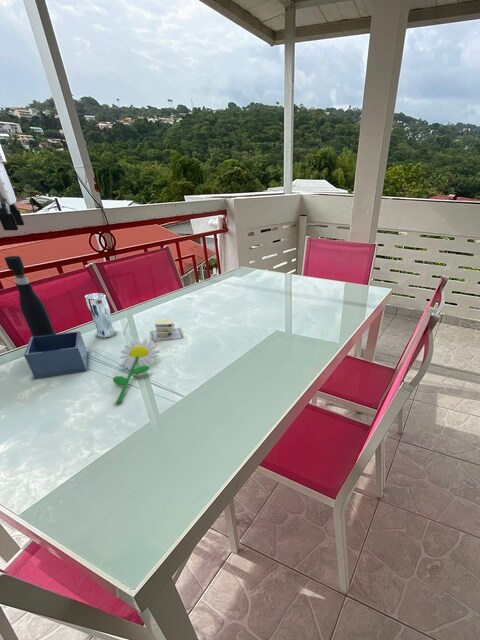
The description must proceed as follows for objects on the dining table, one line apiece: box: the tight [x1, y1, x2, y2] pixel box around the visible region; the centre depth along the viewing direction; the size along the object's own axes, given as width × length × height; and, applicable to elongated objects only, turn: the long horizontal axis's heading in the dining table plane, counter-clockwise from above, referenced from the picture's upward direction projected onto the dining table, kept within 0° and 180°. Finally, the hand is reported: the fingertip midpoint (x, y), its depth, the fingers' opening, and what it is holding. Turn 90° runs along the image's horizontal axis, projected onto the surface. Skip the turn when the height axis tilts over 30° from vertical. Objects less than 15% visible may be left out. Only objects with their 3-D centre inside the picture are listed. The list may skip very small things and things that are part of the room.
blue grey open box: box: [23, 330, 88, 379], centre depth 105 cm, size 14×14×8 cm
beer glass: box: [84, 292, 116, 338], centre depth 123 cm, size 7×7×15 cm
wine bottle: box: [4, 255, 56, 337], centre depth 108 cm, size 6×6×30 cm
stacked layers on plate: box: [151, 318, 182, 342], centre depth 128 cm, size 10×9×6 cm
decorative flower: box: [112, 338, 161, 404], centre depth 103 cm, size 13×5×30 cm
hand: (14, 227), depth 95 cm, fingers open, 9 cm apart
